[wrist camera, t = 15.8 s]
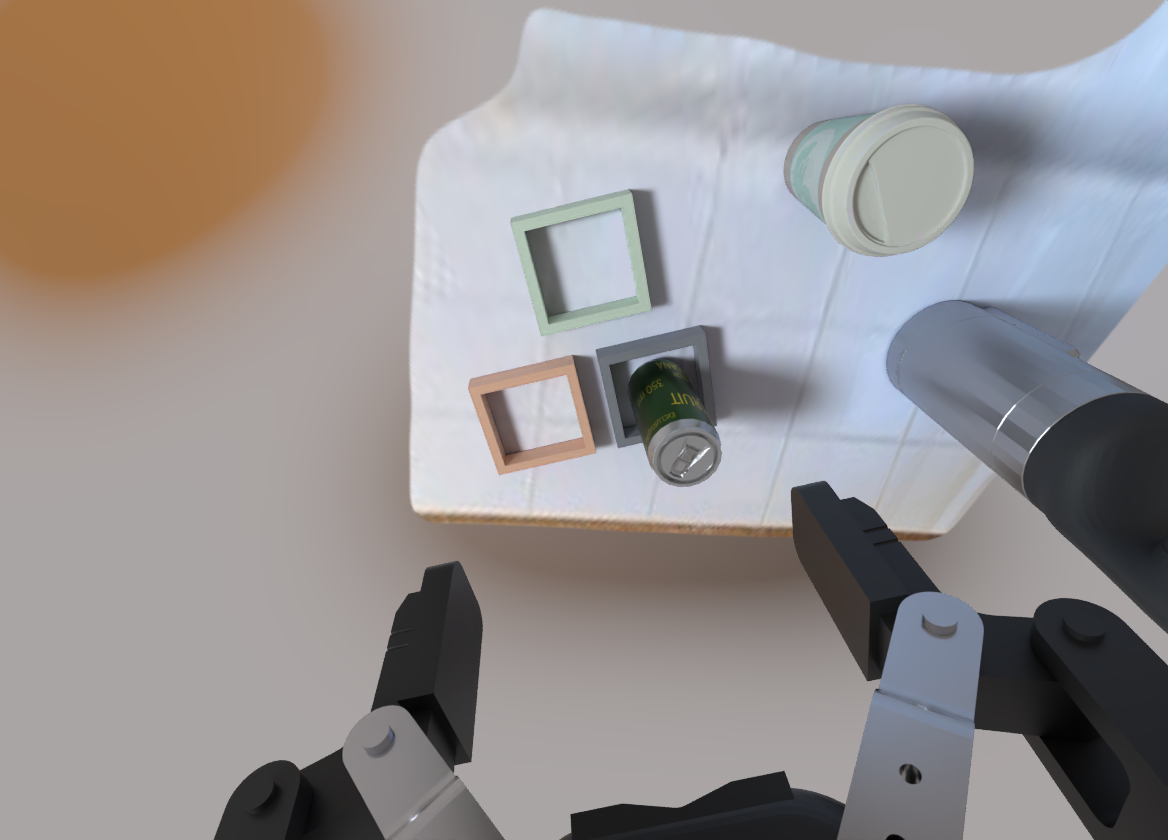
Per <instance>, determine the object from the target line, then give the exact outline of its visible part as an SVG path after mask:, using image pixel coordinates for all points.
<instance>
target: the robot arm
mask: <svg viewBox="0 0 1168 840" xmlns="http://www.w3.org/2000/svg"><path fill="white" fill-rule="evenodd" d="M886 367H887V374H888V376H889V379H890V381H891V383H892V384H893V385H894V387H895V388H897V389H898V390H899V391H900V392H901V393H902V394H904V395H905V396H906V397H907V398H908V399H909V400H911V401H912V402H913V403H914V404H915V405H916V406H918V407H919V408H920V409H921V410H922V411H923V412H924V413H926V414H927V415H928V416H929V417H930V418H931V419H933V420H934V421H935V422H936V423H937V424H939V425H940V426H941V427H942V428H943V429H944V430H946V431H947V432H948V433H949V434H950V435H952V436H953V437H954V438H955V439H956V440H957V441H959V442H960V443H961V444H962V445H963V446H965V447H966V448H967V449H968V450H969V451H970V452H972V453H973V454H974V455H975V456H976V457H977V458H979V459H980V460H981V461H982V462H983V463H985V464H986V465H987V466H988V467H989V468H990V469H992V470H993V471H994V472H995V473H996V474H998V475H999V476H1000V477H1001V478H1002V479H1004V480H1005V481H1006V482H1007V483H1008V484H1010V485H1011V486H1012V487H1013V488H1015V490H1017V491H1018V492H1019V493H1020V494H1022V495H1023V496H1024V497H1025V498H1026V499H1027V500H1029V501H1030V502H1031V503H1032V504H1033V505H1035V506H1036V507H1037V508H1038V509H1039V510H1040V511H1042V512H1043V513H1044V514H1045V515H1046V517H1047V518H1048V520H1049V521H1050V522H1051V524H1052V525H1053V526H1054V527H1055V528H1056V529H1057V530H1058V531H1059V532H1060V533H1061V534H1062V535H1063V536H1064V537H1065V538H1066V539H1067V540H1069V541H1070V542H1071V543H1072V544H1073V545H1074V546H1075V547H1076V548H1078V549H1079V550H1080V551H1081V552H1082V553H1083V554H1084V555H1085V556H1086V557H1087V558H1089V559H1090V560H1091V561H1092V562H1093V563H1094V564H1095V565H1096V566H1097V567H1098V568H1099V569H1100V570H1101V571H1102V572H1103V573H1104V574H1106V575H1107V576H1108V577H1109V578H1110V579H1111V580H1112V581H1113V582H1114V583H1115V584H1116V585H1117V586H1118V587H1119V588H1120V589H1121V590H1122V591H1123V592H1124V593H1125V594H1126V595H1127V596H1128V597H1129V598H1130V599H1131V600H1132V601H1133V602H1134V603H1135V604H1136V605H1137V606H1138V607H1139V608H1140V609H1141V610H1142V611H1143V612H1145V613H1146V614H1147V615H1148V616H1149V617H1150V618H1151V619H1152V620H1153V621H1154V622H1155V623H1156V624H1157V625H1159V626H1160V627H1161V628H1162V629H1163V630H1164V631H1165V632H1166V633H1167V634H1168V404H1167V403H1165V402H1163V401H1161V400H1159V399H1157V398H1155V397H1153V396H1151V395H1149V394H1147V393H1145V392H1143V391H1141V390H1139V389H1137V388H1135V387H1133V386H1131V385H1129V384H1127V383H1125V382H1124V381H1121V380H1120V379H1118V378H1116V377H1114V376H1112V375H1109V374H1107V373H1105V372H1103V371H1101V370H1100V369H1098V368H1096V367H1094V366H1092V365H1090V364H1088V363H1086V362H1084V361H1082V360H1080V359H1079V352H1078V350H1077V349H1076V348H1074V347H1072V346H1070V345H1068V344H1066V343H1064V342H1062V341H1060V340H1058V339H1056V338H1054V337H1052V336H1050V335H1048V334H1046V333H1044V332H1042V331H1040V330H1038V329H1036V328H1034V327H1032V326H1030V325H1028V324H1026V323H1024V322H1022V321H1020V320H1018V319H1016V318H1014V317H1012V316H1010V315H1008V314H1006V313H1003V312H1001V311H999V310H997V309H995V308H993V307H989V308H978V307H976V306H974V305H972V304H970V303H967V302H962V301H946V302H942V303H937V304H935V305H932V306H930V307H928V308H925V309H924V310H922V311H920V312H919V313H917V314H916V315H914V316H913V317H912V318H911V319H910V320H908V321H907V322H906V323H905V324H904V325H903V327H902V328H901V329H900V330H899V331H898V333H897V334H896V336H895V338H894V339H893V341H892V343H891V345H890V348H889V351H888V354H887V361H886ZM791 505H792V524H793V538H794V543H795V548H796V551H797V554H798V557H799V559H800V561H801V563H802V565H803V567H804V569H805V571H806V572H807V574H808V576H809V578H810V580H811V581H812V583H813V585H814V586H815V589H816V590H817V592H818V594H819V596H820V597H821V599H822V601H823V603H824V605H825V606H826V608H827V610H828V612H829V613H830V615H831V617H832V619H833V621H834V622H835V624H836V626H837V628H838V630H839V631H840V633H841V635H842V637H843V639H844V640H845V642H846V644H847V646H848V647H849V649H850V651H851V653H852V655H853V656H854V658H855V660H856V662H857V664H858V665H859V667H860V669H861V671H862V673H863V674H864V676H865V678H866V680H867V681H872V680H877V679H881V682H880V685H879V689H876V690H875V692H874V694H873V698H872V701H871V705H870V709H869V713H868V717H867V721H866V725H865V730H864V733H863V737H862V741H861V745H860V749H859V753H858V758H857V761H856V765H855V769H854V773H853V777H852V781H851V785H850V789H849V793H848V797H847V801H846V805H845V804H843V803H841V802H839V801H837V800H835V799H833V798H830V797H828V796H825V795H822V794H819V793H816V792H813V791H808V790H803V789H795V788H790V785H789V782H788V779H787V777H786V774H785V772H784V771H782V772H776V773H771V774H767V775H762V776H757V777H752V778H747V779H742V780H737V781H732V782H730V783H728V784H726V785H724V786H722V787H720V788H718V789H716V790H714V791H712V792H710V793H709V794H707V795H705V796H703V797H701V798H699V799H697V800H695V801H693V802H692V803H689V804H687V805H685V806H683V807H679V808H670V807H657V806H644V805H633V804H618V805H613V806H609V807H604V808H599V809H594V810H589V811H584V812H579V813H574V814H571V832H572V833H570V834H568V835H566V836H564V837H563V838H561V839H560V840H962V839H963V831H964V821H965V812H966V803H967V794H968V784H969V776H970V766H971V757H972V747H973V739H974V729H982V730H991V731H1000V732H1010V733H1018V734H1023V736H1024V737H1025V739H1026V740H1027V741H1028V743H1029V744H1030V746H1031V747H1032V749H1033V750H1034V752H1035V753H1036V755H1037V756H1038V758H1039V759H1040V761H1041V762H1042V763H1043V765H1044V766H1045V768H1046V770H1047V771H1048V772H1049V774H1050V775H1051V777H1052V778H1053V780H1054V781H1055V783H1056V784H1057V786H1058V787H1059V789H1060V790H1061V792H1062V793H1063V795H1064V796H1065V797H1066V799H1067V801H1068V802H1069V803H1070V805H1071V806H1072V808H1073V809H1074V811H1075V812H1076V814H1077V815H1078V817H1079V818H1080V820H1081V821H1082V823H1083V824H1084V826H1085V827H1086V829H1087V830H1088V832H1089V833H1090V834H1091V836H1092V837H1093V839H1094V840H1168V665H1167V664H1166V663H1165V662H1164V661H1163V660H1162V659H1161V658H1160V657H1159V656H1158V655H1157V654H1156V653H1155V652H1154V651H1153V650H1152V649H1151V648H1150V647H1149V646H1148V645H1147V644H1146V643H1145V642H1144V641H1143V640H1142V639H1141V638H1140V637H1139V636H1138V635H1137V634H1136V633H1135V632H1134V631H1133V630H1132V629H1131V628H1130V627H1129V626H1128V625H1127V624H1126V623H1125V622H1124V621H1123V620H1121V619H1120V618H1119V617H1118V616H1116V615H1115V614H1114V613H1112V612H1110V611H1109V610H1107V609H1105V608H1103V607H1101V606H1098V605H1096V604H1093V603H1090V602H1087V601H1083V600H1078V599H1070V598H1059V599H1053V600H1049V601H1047V602H1044V603H1042V604H1041V605H1040V606H1039V607H1038V608H1037V609H1036V611H1035V613H1034V617H1033V618H1027V617H1010V616H994V615H986V614H981V613H977V612H976V611H975V610H974V609H973V608H972V607H970V606H969V605H968V604H966V603H965V602H963V601H962V600H960V599H958V598H956V597H953V596H950V595H947V594H943V593H941V592H940V591H939V590H938V588H937V587H936V586H935V585H934V583H933V582H932V581H931V580H930V578H929V577H928V576H927V575H926V573H925V572H924V571H923V570H922V568H921V567H920V566H919V565H918V563H917V562H916V561H915V560H914V558H913V557H912V556H911V555H910V553H909V552H908V551H907V550H906V548H905V547H904V546H903V545H902V543H901V542H898V538H897V537H896V536H895V535H894V533H893V532H892V531H891V530H890V528H889V529H888V527H887V525H886V523H885V522H884V521H883V520H882V518H881V517H880V516H879V515H878V513H877V512H876V511H875V510H874V509H873V508H871V507H870V506H868V505H866V504H865V503H863V502H861V501H860V500H858V499H856V498H855V497H852V498H847V499H843V500H840V499H839V498H838V496H837V495H836V493H835V492H834V491H833V489H832V488H831V487H830V485H829V484H828V483H827V482H826V481H820V482H815V483H811V484H806V485H802V486H797V487H793V488H792V490H791ZM482 627H483V624H482V616H481V611H480V607H479V604H478V602H477V599H476V597H475V595H474V593H473V590H472V588H471V586H470V583H469V581H468V579H467V576H466V574H465V572H464V570H463V567H462V565H461V564H460V563H459V561H454V562H450V563H445V564H441V565H436V566H432V567H428V568H426V570H425V573H424V577H423V582H422V587H421V591H419V592H415V593H411V594H408V595H407V597H406V599H405V600H404V601H403V603H402V604H401V606H400V607H399V609H398V610H397V612H396V614H395V618H394V622H393V626H392V630H391V634H392V635H391V636H390V638H389V642H388V646H387V649H388V651H387V652H386V654H385V658H384V662H383V666H382V670H381V674H380V678H379V682H378V686H377V690H376V694H375V697H374V702H373V705H372V709H371V712H370V713H369V714H367V715H366V716H364V717H363V718H362V719H361V720H360V721H359V722H358V723H357V724H356V725H355V726H354V728H353V729H352V730H351V731H350V733H349V735H348V737H347V738H346V741H345V744H344V747H342V748H341V749H339V750H338V751H336V752H334V753H332V754H331V755H328V756H327V757H325V758H323V759H321V760H319V761H317V762H315V763H313V764H311V765H310V766H307V767H306V768H304V769H302V770H299V769H298V768H297V767H296V766H295V765H294V764H293V763H292V762H290V761H285V760H279V761H274V762H271V763H268V764H266V765H264V766H262V767H260V768H258V769H257V770H255V771H254V772H253V773H251V774H250V775H249V776H248V777H247V778H246V779H245V780H243V782H242V783H241V784H240V785H239V786H238V787H237V788H236V790H235V791H234V793H233V794H232V796H231V797H230V799H229V801H228V803H227V805H226V808H225V811H224V813H223V816H222V819H221V821H220V824H219V827H218V830H217V833H216V835H215V838H214V840H505V839H504V838H503V836H502V835H501V834H500V832H499V831H498V830H497V828H496V827H495V825H494V824H493V823H492V822H491V820H490V819H489V817H488V816H487V815H486V813H485V812H484V811H483V809H482V808H481V806H480V805H479V804H478V802H477V801H476V800H475V798H474V797H473V796H472V794H471V793H470V792H469V790H468V789H467V787H466V786H465V785H464V783H463V782H462V781H461V780H460V779H459V777H458V776H455V775H454V765H458V764H463V763H468V762H471V758H472V747H473V736H474V724H475V713H476V712H475V711H476V701H477V689H478V677H479V666H480V655H481V643H482V631H483V628H482Z"/></svg>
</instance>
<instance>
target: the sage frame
mask: <svg viewBox="0 0 1168 840" xmlns="http://www.w3.org/2000/svg"><path fill="white" fill-rule="evenodd" d="M618 208H621V212H622V218H623V223H624V229H625V234H626V240H627V246H628V251H629V257H630V262H631V268H632V273H633V279H634V284H635V290H636V296H634V297H630V298H626V299H621V300H617V301H613V302H609V303H604V304H600V305H596V306H592V307H588V308H583V309H579V310H575V311H571V312H566V313H562V314H558V315H554V316H550V317H548V315H547V311H546V307H545V304H544V300H543V296H542V292H541V288H540V285H539V281H538V277H537V273H536V269H535V265H534V262H533V258H532V254H531V250H530V246H529V243H528V239H527V235H526V231H528V230H532V229H536V228H540V227H544V226H548V225H552V224H556V223H560V222H565V221H569V220H573V219H577V218H581V217H585V216H589V215H593V214H598V213H602V212H606V211H610V210H614V209H618ZM510 224H511V227H512V231H513V235H514V238H515V242H516V246H517V249H518V253H519V257H520V260H521V264H522V268H523V271H524V275H525V279H526V282H527V286H528V290H529V293H530V297H531V301H532V304H533V308H534V312H535V315H536V319H537V323H538V326H539V330H540V333H541V336H544V335H549V334H553V333H557V332H561V331H566V330H570V329H574V328H578V327H583V326H587V325H591V324H595V323H600V322H604V321H608V320H612V319H617V318H621V317H625V316H629V315H634V314H638V313H642V312H646V311H650V310H652V309H651V304H650V298H649V292H648V286H647V280H646V274H645V268H644V262H643V256H642V250H641V244H640V238H639V232H638V226H637V221H636V215H635V209H634V203H633V197H632V193H631V192H630V191H629V189H628V190H623V191H619V192H615V193H611V194H607V195H603V196H599V197H595V198H591V199H587V200H582V201H578V202H574V203H570V204H566V205H562V206H558V207H554V208H550V209H546V210H542V211H537V212H533V213H529V214H525V215H521V216H517V217H513V218H511V222H510Z"/></svg>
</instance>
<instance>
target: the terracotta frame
mask: <svg viewBox="0 0 1168 840" xmlns="http://www.w3.org/2000/svg"><path fill="white" fill-rule="evenodd" d="M563 375H567V378H568V382H569V385H570V389H571V393H572V397H573V401H574V405H575V409H576V412H577V416H578V420H579V424H580V428H581V432H582V436H583V438H579V439H574V440H570V441H566V442H561V443H557V444H552V445H548V446H544V447H539V448H535V449H530V450H526V451H522V452H517V453H513V454H509V455H506V454H505V451H504V448H503V446H502V443H501V440H500V437H499V434H498V431H497V428H496V425H495V422H494V419H493V416H492V413H491V411H490V408H489V405H488V402H487V399H486V396H485V394H486V393H490V392H494V391H499V390H503V389H507V388H512V387H516V386H520V385H524V384H529V383H533V382H537V381H542V380H546V379H550V378H555V377H559V376H563ZM468 390H469V393H470V395H471V398H472V401H473V404H474V407H475V409H476V412H477V415H478V418H479V421H480V423H481V426H482V429H483V432H484V435H485V437H486V440H487V443H488V446H489V449H490V451H491V454H492V457H493V460H494V463H495V466H496V468H497V471H498V474H499V475H502V474H506V473H511V472H515V471H519V470H524V469H528V468H533V467H537V466H541V465H546V464H550V463H555V462H559V461H564V460H568V459H572V458H577V457H581V456H586V455H590V454H594V453H596V449H595V443H594V439H593V435H592V431H591V427H590V423H589V419H588V415H587V411H586V407H585V403H584V399H583V395H582V391H581V387H580V383H579V379H578V375H577V371H576V367H575V363H574V359H573V355H571V356H567V357H563V358H558V359H554V360H550V361H546V362H541V363H537V364H533V365H528V366H524V367H520V368H516V369H511V370H507V371H503V372H499V373H494V374H490V375H486V376H481V377H477V378H473V379H470V382H469V387H468Z"/></svg>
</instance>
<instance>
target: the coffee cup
mask: <svg viewBox="0 0 1168 840" xmlns="http://www.w3.org/2000/svg"><path fill="white" fill-rule="evenodd" d="M973 175H974V158H973V153H972V149H971V146H970V143H969V142H968V140H967V138H966V136H965V135H964V134H963V132H962V131H961V130H960V129H959V127H958V126H957V125H956V123H955V122H954V121H953V120H952V119H950V118H949V117H948V116H947V115H945V114H943V113H942V112H939V111H937V110H936V109H933V108H931V107H928V106H924V105H918V104H905V105H899V106H894V107H891V108H888V109H885V110H883V111H881V112H878V113H876V114H868V115H861V116H854V117H846V118H839V119H832V120H826V121H821V122H818V123H815V124H813V125H811V126H809V127H808V128H806V129H805V130H804V131H803V132H801V133H800V134H799V135H798V137H797V138H796V139H795V140H794V142H793V143H792V145H791V146H790V148H789V150H788V153H787V156H786V159H785V164H784V178H785V182H786V185H787V188H788V189H789V191H790V192H791V194H792V195H793V196H794V197H795V198H796V199H797V200H798V201H800V202H801V203H802V204H803V205H804V206H805V207H806V208H807V209H809V210H810V211H811V212H812V213H813V214H814V215H815V216H817V217H818V218H819V219H820V220H821V221H822V222H823V223H825V224H826V225H827V227H828V229H829V231H830V233H831V234H832V236H833V237H834V238H835V239H836V240H837V242H839V243H840V244H841V245H842V246H843V247H845V248H846V249H848V250H850V251H852V252H855V253H858V254H861V255H867V256H875V257H884V256H891V255H896V254H901V253H906V252H910V251H913V250H916V249H918V248H920V247H922V246H924V245H926V244H928V243H929V242H931V241H932V240H934V239H935V238H937V237H938V236H939V235H940V234H942V233H943V232H944V231H945V230H946V229H947V228H948V227H949V226H950V224H951V223H952V222H953V221H954V220H955V218H956V217H957V216H958V214H959V213H960V211H961V209H962V208H963V206H964V204H965V202H966V200H967V197H968V195H969V192H970V189H971V186H972V182H973Z"/></svg>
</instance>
